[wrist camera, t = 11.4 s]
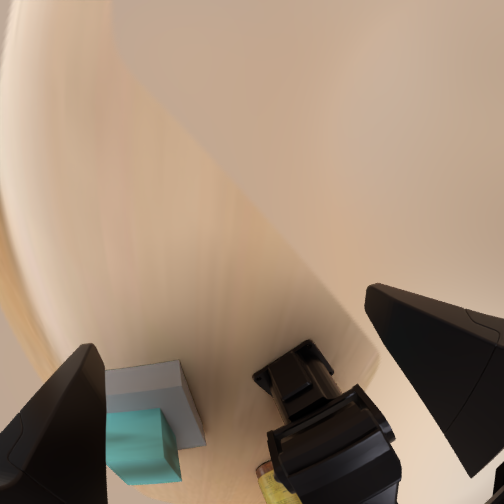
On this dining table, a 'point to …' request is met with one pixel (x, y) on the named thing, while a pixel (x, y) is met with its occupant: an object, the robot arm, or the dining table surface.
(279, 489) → the sauce bottle
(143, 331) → the dining table surface
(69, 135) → the dining table surface
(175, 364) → the gray plinth
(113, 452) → the teal cube
